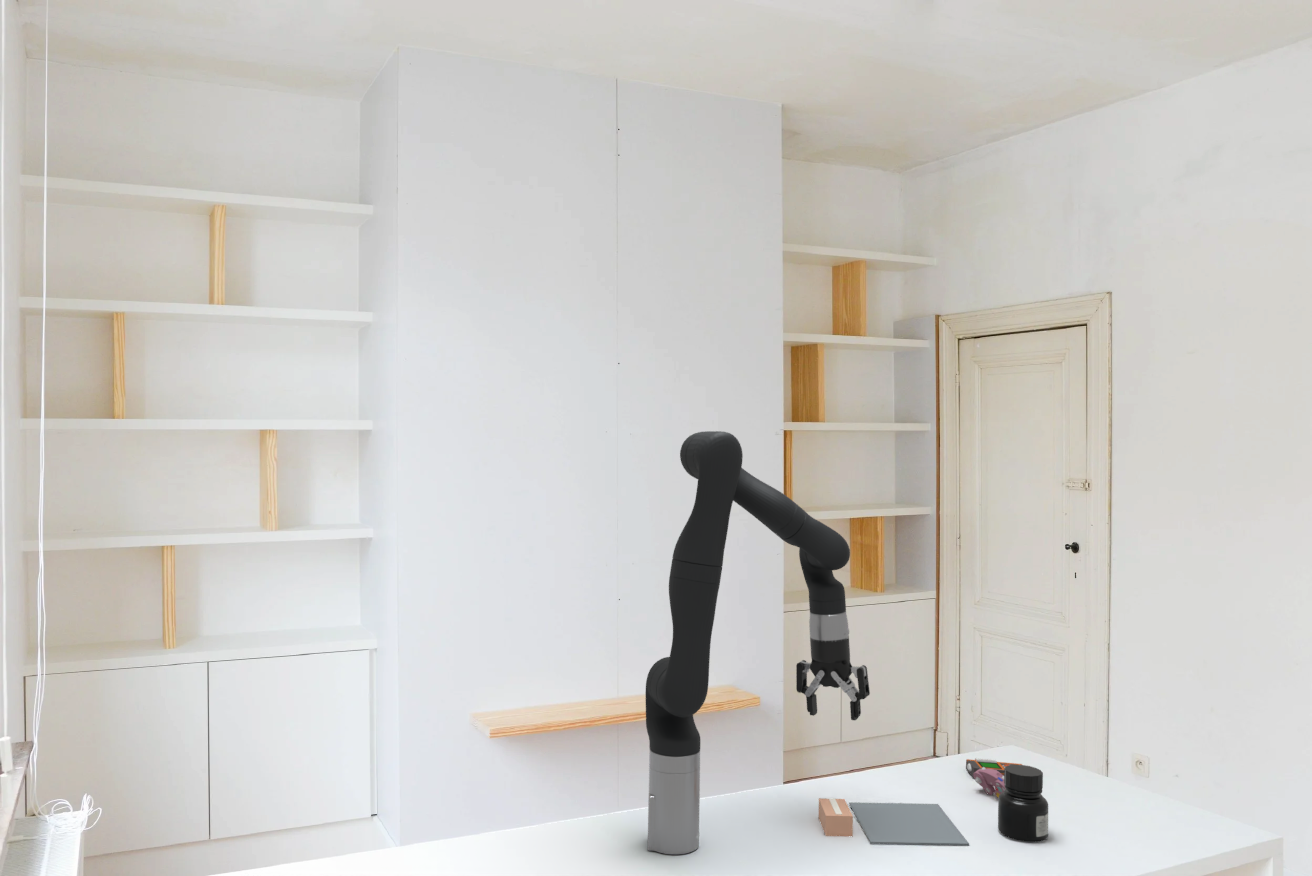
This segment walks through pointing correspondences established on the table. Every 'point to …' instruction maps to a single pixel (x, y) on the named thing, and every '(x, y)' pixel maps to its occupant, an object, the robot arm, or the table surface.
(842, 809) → the box
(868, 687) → the robot arm
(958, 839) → the mat
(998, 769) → the electronic device
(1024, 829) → the ink bottle
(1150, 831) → the table surface
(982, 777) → the video game controller
